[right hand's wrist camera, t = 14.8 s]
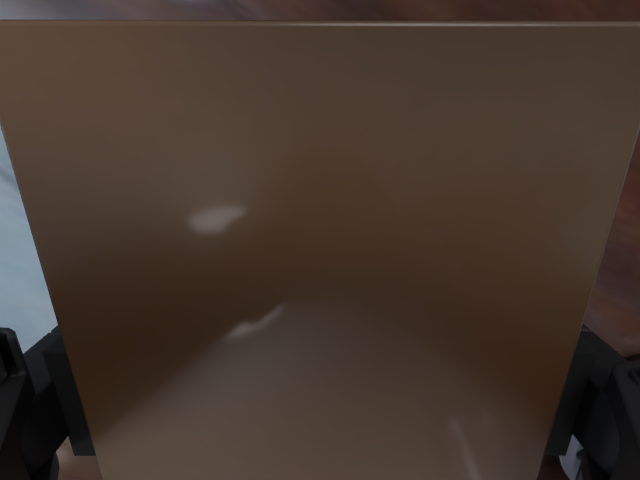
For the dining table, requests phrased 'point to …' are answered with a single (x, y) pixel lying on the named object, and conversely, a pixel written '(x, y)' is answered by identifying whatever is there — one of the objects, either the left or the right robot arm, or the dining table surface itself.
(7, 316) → the dining table surface
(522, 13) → the dining table surface
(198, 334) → the wide beam
